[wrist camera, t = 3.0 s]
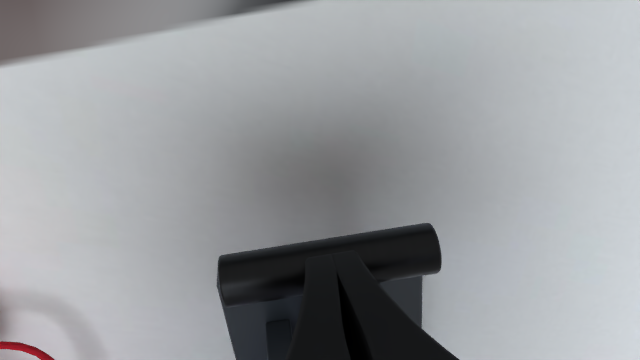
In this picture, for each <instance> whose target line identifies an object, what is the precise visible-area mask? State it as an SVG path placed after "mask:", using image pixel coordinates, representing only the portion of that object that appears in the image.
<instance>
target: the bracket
mask: <svg viewBox="0 0 640 360" xmlns="http://www.w3.org/2000/svg"><path fill="white" fill-rule="evenodd" d="M379 284H380V285H381V286H382V287H383V289H384V290H385V291H386V292H387V293H388V294H389V295H390V297H391V298H392V299H393V300H394V301H395V302H396V303H397V304H398V305H399V307H400V308H401V309H402V310H403V311H404V312H405V313H406V314H407V315H408V316H409V317H410V318H411V319H412V320H413V321H414V322H415V323H416V324H417V325H418V326H420V327H421V328H422V276H417V277H411V278H405V279H399V280H393V281H387V282H381V283H379ZM217 288H218V292H219V296H220V300H221V303H222V307H223V311H224V315H225V319H226V323H227V327H228V331H229V334H230V338H231V342H232V346H233V350H234V354H235V358H236V360H285V358H286V355H287V352H288V349H289V346H290V343H291V340H292V337H293V333H294V330H295V327H296V323H297V320H298V316H299V311H300V306H301V302H302V297H303V296H297V297H291V298H285V299H279V300H272V301H266V302H260V303H254V304H248V305H242V306H236V307H230V308H227V307H225V305H224V303H223V300H222V297H221V292H220V286H219V278H218V272H217Z"/></svg>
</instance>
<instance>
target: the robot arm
mask: <svg viewBox="0 0 640 360" xmlns="http://www.w3.org/2000/svg"><path fill="white" fill-rule="evenodd" d="M285 360H459V359H458V358H456V357H455V356H454V355H453V354H451V353H450V352H449V351H448V350H446V349H445V348H444V347H442V346H441V345H440V344H439V343H438V342H436V341H435V340H434V339H433V338H432V337H431V336H429V335H428V334H427V333H426V332H425V331H424V330H423V329H422V328H421V327H420V326H418V325H417V324H416V323H415V322H414V321H413V320H412V319H411V318H410V317H409V316H408V315H407V314H406V313H405V312H404V311H403V310H402V309H401V308H400V307H399V305H398V304H397V303H396V302H395V301H394V300H393V299H392V298H391V297H390V295H389V294H388V293H387V292H386V291H385V290H384V289H383V287H382V286H381V285H380V284H379V283H378V281H377V280H376V279H375V277H374V276H373V275H372V274H371V272H370V271H369V269H368V268H367V267H366V265H365V264H364V262H363V261H362V259H361V258H360V256H359V254H358V253H357V252H355V251H354V250H352V251H345V252H339V253H333V254H327V255H320V256H314V257H308V258H307V259H306V261H305V284H304V291H303V297H302V302H301V306H300V311H299V316H298V320H297V323H296V327H295V330H294V333H293V337H292V340H291V343H290V346H289V349H288V352H287V355H286V358H285Z"/></svg>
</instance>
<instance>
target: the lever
mask: <svg viewBox="0 0 640 360" xmlns="http://www.w3.org/2000/svg"><path fill="white" fill-rule="evenodd" d="M352 250H354V251H355V252H357V253H358V254H359V256H360V258H361V259H362V261H363V262H364V264H365V265H366V267H367V268H368V269H369V271H370V272H371V274H372V275H373V276H374V277H375V279H376V280H377V281H378V283H381V282H387V281H393V280H399V279H405V278H411V277H417V276H423V275H429V274H435V273H438V272H439V271H440V269H441V250H440V244H439V240H438V237H437V234H436V232H435V230H434V228H433V226H432V225H431V224H430V223H422V224H416V225H410V226H403V227H397V228H391V229H385V230H378V231H372V232H366V233H359V234H353V235H347V236H340V237H334V238H328V239H321V240H315V241H309V242H302V243H296V244H290V245H283V246H277V247H271V248H265V249H258V250H252V251H246V252H239V253H233V254H227V255H221V256H220V257H219V260H218V278H219V286H220V292H221V297H222V300H223V303H224V305H225V307H227V308H230V307H236V306H242V305H248V304H254V303H260V302H266V301H272V300H279V299H285V298H291V297H297V296H303V291H304V284H305V261H306V259H307V258H308V257H314V256H320V255H327V254H333V253H339V252H345V251H352Z"/></svg>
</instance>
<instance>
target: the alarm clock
mask: <svg viewBox="0 0 640 360" xmlns="http://www.w3.org/2000/svg"><path fill="white" fill-rule="evenodd" d="M0 349H11V350H19V351H23V352H26V353H29V354H32V355H34V356H37V357H38V358H39V359H41V360H54V359H53V358H52V357H51V356H49V355H48V354H46V353H45V352H43V351H41V350H39V349H38V348H36V347H33V346H29V345H26V344H23V343H18V342H3V341H2V342H0Z"/></svg>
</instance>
